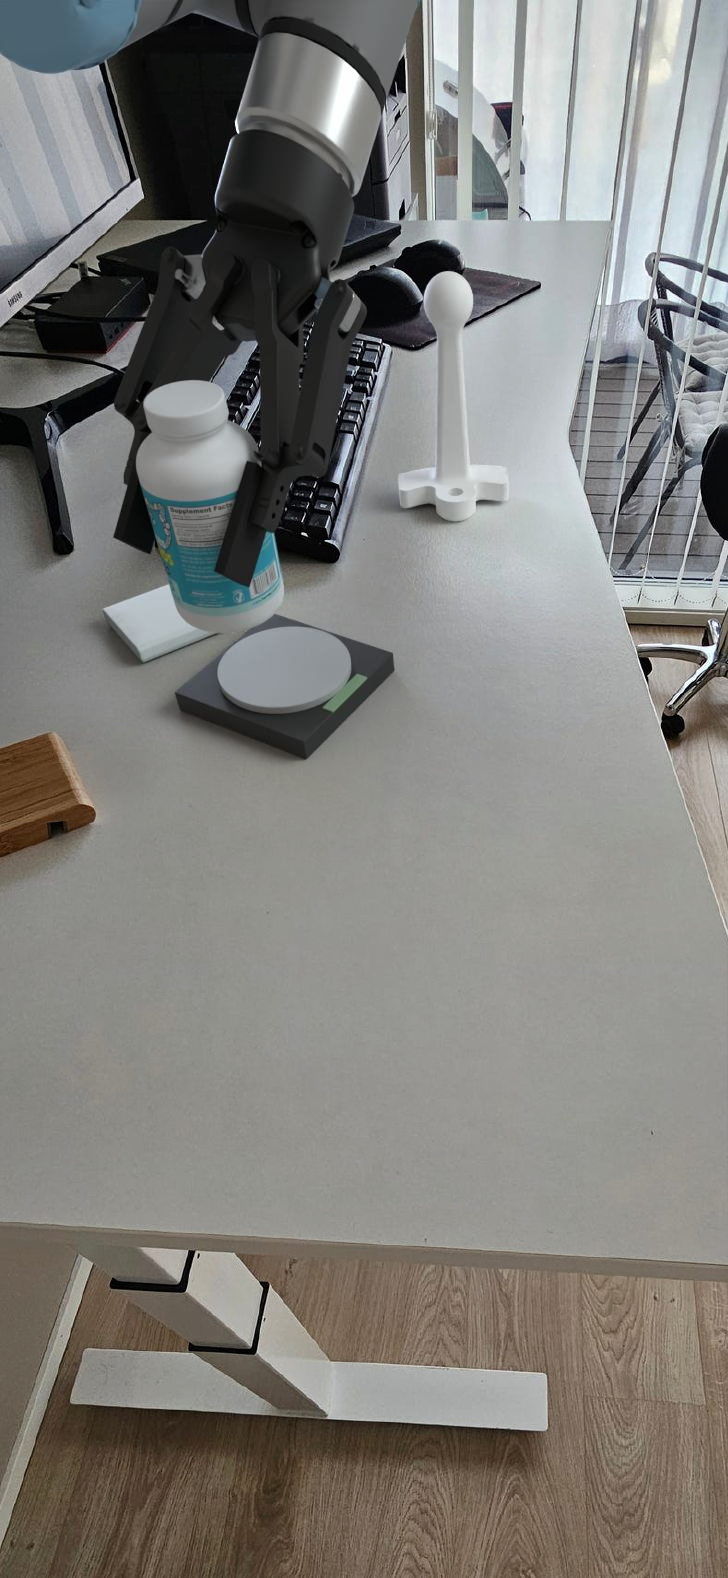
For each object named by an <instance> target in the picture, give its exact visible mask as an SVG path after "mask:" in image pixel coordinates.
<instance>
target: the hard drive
mask: <svg viewBox="0 0 728 1578" xmlns="http://www.w3.org/2000/svg"><path fill="white" fill-rule="evenodd" d="M101 611H102V613H103V614H102V615H103V617H104V619H105V621H106V623H107V625H108V626H109V627H110V628H111V629H112V631H114V633H115V634H116V635H117V636H118V637H119V638H120V640H121V641H122V642H123V643H124V644H125V645H126V647H128V648H129V650H130V651H131V652H132V653H133V654H134V656H136V658H137V659H138V660H139V661H140V662H141V663H146V662H148V661H151V660H153V659H156V658H159V657H161V656H164V655H167V654H169V653H170V652H173V651H174V652H175V651H176V650H178V649H182V648H183V647H186V646H188V645H192V644H194V643H196V642H198V641H201V640H203V639H207V638H209V637H211V636H213V635H216V634H217V633H214V632H207V631H203V630H200V629H198V628H195V627H193V626H191V625H190V624H188V623H187V622H186V621H185V620H184V619H183V618H182V617H181V616H180V614H179V613H178V611H177V609H176V606H175V603H174V600H173V596H172V593H171V589H170V586H169V583H168V584H166V585H163V586H160V587H158V588H155V589H152V590H149V591H146V592H144V593H141V594H139V595H135V596H133V597H129V598H128V599H125V600H122V601H119V602H117V603H115V604H112V605H109V606H107V607H104V608H102V609H101Z"/></svg>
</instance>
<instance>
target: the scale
mask: <svg viewBox="0 0 728 1578" xmlns="http://www.w3.org/2000/svg"><path fill="white" fill-rule="evenodd" d="M394 672H395V659H394V653H393V652H391V651H389V650H386V649H382V648H380V647H377V646H374V645H371V644H367V643H364V642H362V641H358V640H355V639H352V638H350V637H347V636H343V635H340V634H338V633H334V632H331V631H329V630H328V631H327V630H325V629H322V628H319V627H317V626H313V625H310V624H307V623H304V622H301V621H298V620H295V619H292V618H289V617H286V616H283V615H280V614H277V613H275V614H274V615H273V616H272V617H271V618H269V619H268V620H267V621H265V622H263V623H262V624H260V625H258V626H255V627H253V628H250V629H247V630H246V632H244V633H243V634H242V635H240V636H239V637H238V638H237V639H235V641H233V643H231V644H230V645H229V646H227V647H226V648H225V649H224V650H223V651H222V652H221V653H220V654H218V655H217V656H216V657H215V658H214V659H211V661H210V662H209V663H207V664H206V665H205V666H204V667H203V668H202V669H200V670H199V671H198V672H197V673H196V674H195V675H194V676H192V677H191V678H190V679H188V681H186V682H185V683H184V684H183V685H182V686H180V687H179V688H178V689H176V691H174V696H175V699H176V703H177V706H178V709H179V711H182V712H183V713H187V714H189V715H191V716H194V717H197V718H200V719H201V720H204V721H207V722H210V723H212V724H215V725H218V726H219V727H223V728H225V729H227V730H230V731H233V732H236V733H238V734H239V735H243V736H246V737H249V738H250V739H253V740H255V741H258V742H261V743H264V744H266V745H268V746H272V747H274V748H277V749H279V750H282V751H285V752H287V753H290V754H292V755H294V756H297V757H300V758H302V759H304V760H308V759H309V757H311V755H313V753H315V752H316V751H317V749H318V748H320V746H321V745H322V744H323V743H324V742H325V741H326V740H328V739H329V737H331V735H332V734H333V733H334V732H335V731H336V730H337V729H338V728H339V727H340V726H342V724H343V723H344V722H345V721H346V720H348V718H349V717H350V716H351V715H352V714H353V713H354V712H355V711H356V710H357V709H358V708H359V707H360V706H361V705H362V704H363V703H364V702H365V701H366V700H367V699H369V697H370V696H371V695H372V694H373V693H374V692H375V691H376V690H377V689H378V688H379V687H380V686H381V685H382V684H383V683H384V682H385V681H386V680H387V679H388V678H389V677H390V676H391V675H392V674H393V673H394Z"/></svg>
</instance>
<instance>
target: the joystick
mask: <svg viewBox="0 0 728 1578" xmlns="http://www.w3.org/2000/svg"><path fill="white" fill-rule="evenodd" d="M473 308H474V295H473V290H472V288H471V285H470V283H469V282H468V281H467V279H466V278H465V277H464V276H462V275H461V274H459V273H458V272H455V271H453V270H452V271H451V270H447V271H442V272H439V273H437V274H436V275H434V276H433V277H432V278H431V279H430V280H429V282H428V284H426V287H425V289H424V293H423V309H424V313H425V315H426V318H427V320H428V321H429V322H430V323H431V325H432V326H433V328H434V330H435V333H436V376H435V377H436V380H435V381H436V384H435V385H436V386H435V388H436V389H435V450H434V451H435V453H434V454H435V456H434V466H432V467H426V468H425V467H424V468H420V469H414V470H409V471H405V472H402V473H398V475H397V479H398V480H397V481H398V493H399V494H398V496H399V505H400V507H401V508H403V509H410V508H414V507H417V506H421V505H426V504H431V505H434V506H435V512H436V514H437V515H438V516H439V517H441V519H443V520H445V521H448V522H462V521H465V520H467V519H469V518H470V517H471V516H472V515H474V514H475V512H476V510H477V505H476V504H477V503H476V502H477V501H480V500H486V501H495V502H497V501H498V502H507V501H508V500H509V499H510V478H509V474H508V470H507V467H506V466H503V465H491V464H471V462H470V461H471V460H470V447H469V445H470V444H469V431H468V430H469V429H468V414H467V413H468V412H467V400H466V383H465V367H464V353H463V352H464V351H463V331H464V327H465V325H466V323H467V322H468V320H469V319H470V317H471V315H472V313H473Z"/></svg>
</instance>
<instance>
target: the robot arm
mask: <svg viewBox="0 0 728 1578" xmlns="http://www.w3.org/2000/svg"><path fill="white" fill-rule="evenodd" d="M420 3H421V0H0V55H1V56H3V57H4V58H5V59H7V60H8V61H9V62H11V63H12V64H15V65H16V66H18V67H20V68H23V69H26V70H28V71H29V72H34V73H37V74H41V75H42V74H43V75H56V74H62V73H66V72H69V71H82V70H87V69H91V68H94V67H96V66H99V65H101V64H103V63H104V62H106V61H107V60H108V59H110V58H112V57H113V56H115V55H116V54H118V52H119V51H121V50H123V49H124V48H126V47H128V46H130V45H132V44H133V43H135V42H137V41H139V40H140V39H143V38H144V37H146V36H148V35H149V34H151V33H153V32H155V31H158V30H159V29H161V28H164V27H166V26H168V25H169V24H172V23H174V22H176V21H178V20H180V19H182V18H184V17H185V16H187V15H189V14H197V15H199V16H200V15H201V16H204V17H206V18H209V19H211V20H215V21H217V22H219V23H221V24H224V25H226V26H229V27H232V28H235V29H237V30H240V31H242V32H244V33H247V34H249V35H252V36H254V37H256V38H258V40H257V44H256V50H255V53H254V56H253V60H252V63H251V68H250V70H249V73H248V77H247V80H246V83H245V87H244V91H243V94H242V98H241V100H240V104H239V108H238V110H237V115H236V118H235V120H234V123H235V129H236V132H237V133H236V134H235V135H233V136H232V137H231V139H230V141H229V144H228V148H227V151H226V155H225V159H224V163H223V165H222V169H221V172H220V176H219V180H218V184H217V187H216V191H215V195H214V205H215V211H216V213H215V214H216V229H215V231H214V234H213V236H212V237H211V238H210V240H209V242H208V243H207V245H206V246H205V248H204V249H203V251H202V253H200V254H188V255H183V254H182V253H181V252H180V251H179V250H178V249H177V248H176V247H174V246H171V245H170V246H166V248H165V249H164V250H163V252H162V253H161V257H160V264H159V272H158V282H157V288H156V291H155V293H154V296H153V298H152V301H151V304H150V306H149V309H148V311H147V314H146V317H145V319H144V322H143V324H142V327H141V329H140V333H139V335H138V337H137V339H136V342H135V345H134V348H133V350H132V353H131V356H130V358H129V360H128V363H127V366H126V369H125V371H124V374H123V376H122V379H121V381H120V384H119V387H118V389H117V391H116V395H115V397H114V400H113V408H114V410H115V412H117V413H119V415H122V416H123V417H124V419H126V420H127V421H128V422H129V423H130V424H131V425H132V427H133V430H134V431H133V432H134V434H133V439H132V442H131V446H130V450H129V454H128V457H127V458H128V459H127V461H126V466H125V468H124V471H123V484H124V485H126V489H125V493H124V497H123V500H122V504H121V507H120V511H119V514H118V515H119V516H118V518H117V521H116V524H115V529H114V533H113V536H112V538H113V539H115V540H117V541H119V542H121V543H123V544H125V545H127V546H129V547H131V548H134V549H136V550H138V551H140V552H142V553H145V554H148V555H151V554H152V551H153V548H154V543H155V541H156V537H155V533H154V529H153V526H152V523H151V519H150V516H149V512H148V509H147V505H146V502H145V498H144V495H143V492H142V488H141V485H140V481H139V477H138V474H137V469H136V457H137V453H138V450H139V448H140V446H141V444H142V442H143V441H144V440H145V439H146V438H147V436H148V435H150V434H151V433H152V431H151V429H150V428H149V426H148V423H147V419H146V415H145V411H144V406H143V402H144V399H145V397H146V396H147V395H148V394H149V393H150V392H152V391H153V390H155V389H157V388H159V387H161V386H164V385H167V384H170V383H174V382H179V381H188V380H200V381H207V382H211V380H212V378H213V377H214V375H215V374H216V372H217V371H218V369H219V368H220V366H221V365H222V363H223V362H224V359H225V358H226V357H227V356H232V355H234V354H236V352H237V351H238V349H239V348H240V346H241V344H242V343H243V342H247V343H248V342H256V343H257V345H258V348H259V405H260V406H259V409H260V410H259V411H260V412H259V413H260V420H259V421H260V422H259V423H260V449H258V453H257V452H256V451H254V455H255V457H256V458H257V459H258V460H259V461H261V464H263V465H262V467H261V466H260V465H258V464H257V463H254V462H250V461H247V462H246V465H245V469H244V472H243V475H242V479H241V482H240V485H239V489H238V492H237V495H236V499H235V502H234V505H233V509H232V512H231V515H230V519H229V522H228V526H227V529H226V532H225V536H224V539H223V542H222V546H221V549H220V552H219V556H218V559H217V562H216V566H215V569H214V571H215V572H217V573H219V574H221V575H222V576H224V577H226V578H228V579H230V580H232V581H234V582H236V583H238V584H240V585H243V586H246V587H250V584H251V581H252V578H253V574H254V571H255V568H256V565H257V561H258V558H259V555H260V552H261V548H262V545H263V542H264V539H265V535H266V532H270V533H274V534H275V531H276V530H277V528H278V527H279V524H280V521H281V516H282V515H283V512H284V509H285V505H286V502H287V499H288V496H289V492H290V489H291V486H292V484H293V482H294V481H296V480H297V479H298V478H300V477H306V476H313V477H314V478H322V477H323V476H325V474H327V471H328V468H329V464H330V458H331V453H332V448H333V443H334V437H335V433H336V427H337V422H338V418H339V413H340V406H341V402H342V398H343V397H342V396H343V392H344V387H345V380H346V376H347V371H348V366H349V361H350V355H351V350H352V346H353V343H354V342H355V340H356V338H357V337H358V334H359V332H360V330H361V328H362V326H363V324H364V321H365V320H366V318H367V314H368V310H367V306H366V305H365V303H364V302H363V301H362V300H361V299H360V297H358V295H357V294H356V293H355V291H354V290H353V289H352V287H350V286H349V284H348V283H347V282H346V281H345V280H344V279H342V278H338V279H335V280H334V281H331V277H330V272H331V271H332V270H333V269H334V268H336V267H337V265H338V263H339V261H340V258H341V255H342V250H343V248H344V245H345V241H346V237H347V234H348V231H349V227H350V225H351V222H352V219H353V215H354V211H355V202H354V200H353V197H355V196H356V195H358V193H359V191H360V189H361V187H362V184H363V181H364V177H365V174H366V170H367V167H368V163H369V160H370V157H371V154H372V150H373V147H374V143H375V140H376V137H377V134H378V130H379V127H380V123H381V120H382V117H383V113H384V110H385V106H386V103H387V99H388V96H389V93H390V90H391V87H392V84H393V81H394V78H395V75H396V71H397V69H398V65H399V62H400V59H401V55H402V53H403V49H404V47H405V43H406V40H407V38H408V35H409V31H410V29H411V25H412V22H413V19H414V16H415V12H416V10H417V8H418V7H419V6H420ZM314 314H316V315H315V318H314V321H313V324H312V328H311V332H310V338H309V343H308V347H307V348H308V349H307V352H306V353H307V354H306V359H305V364H304V369H303V375H302V381H301V385H300V365H301V364H303V363H304V324H305V323H306V322H307V321H308V320H309V319H310V318H311V317H312V316H313V315H314ZM213 319H215V320H216V322H217V323H218V324H219V325H220V326H221V327H222V329H219V328H218V327H217V326H216V325H215V324H214V323H213Z"/></svg>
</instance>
